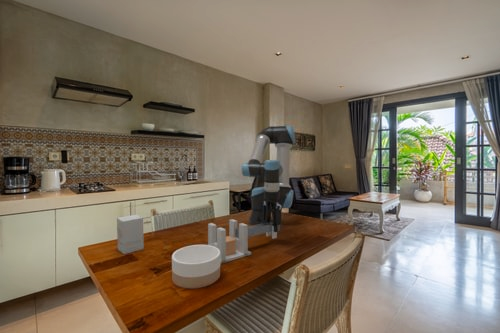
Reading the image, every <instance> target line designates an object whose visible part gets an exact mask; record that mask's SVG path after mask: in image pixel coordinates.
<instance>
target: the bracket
mask: <svg viewBox="0 0 500 333" xmlns="http://www.w3.org/2000/svg"><path fill="white" fill-rule="evenodd" d="M228 223H229V225H228V227H229V232H228V233H229V235H228V236H230V237H232V238H234V239H236V253H235V254H231V255H228V256H226V237H227V230H226V229H225V228H223V227H217V224H215V223H213V222H210V223H207V245H210V246H214V247H216V248H218V249H219V250H220V265H222V264H224V263H228V262H231V261H234V260H237V259H241V258H244V257H247V256H251V255H252V252H251V251H250V250H248V249H249V248H248V245H249V243H248V238H249V237H248V226H249V225H248V224H245V223H244V222H240V223H238V220H236V219H233V218H232V219H229V220H228ZM238 228H239V238H237V237H236V229H238Z"/></svg>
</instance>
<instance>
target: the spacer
mask: <svg viewBox="0 0 500 333" xmlns="http://www.w3.org/2000/svg"><path fill="white" fill-rule="evenodd" d="M235 253H236V239H234V238H232V237H230V236H229V235H226V256H228V255H231V254H235Z"/></svg>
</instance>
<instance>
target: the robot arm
mask: <svg viewBox="0 0 500 333" xmlns="http://www.w3.org/2000/svg"><path fill="white" fill-rule="evenodd" d="M295 143H296V138H295V130H294V127H293V126H291V125H275V126H274V125H271V126H267V127H265V128H263V129H262V130H260V131H259V133H258V134H257V135H256V138H255V144H254V147H253V150H252V152H251V155H250V157H249V160H248V162H245V163H242V166H241V174H242V176H244V177H247V178H248V177H249V178H264V186H261V187H260V186H259V187H255V188H253V189H252V190H251V212H250V215H249V219H248V223H249V224H250V225H251V226H253V225H257V224H262V223H267V222H271V220H273V225H272V231H271V232H267V233H265V237H270V236H271V239H273V240H274V239H277V238H278V232H279V231H278V225H280V226H281V224H282V212H283V211H282V210H283V209H290V208H291V207H292V206H293V205H292V204H293V200H294V190H293V189H292V186H291V185H290V169H291V168H290V164H291V163H290V162H291V158H290V157H291V148H293V145H294V144H295ZM270 144H273V145H274V146H275V148H276V159H267V160H265V161H264V158H265V156H266V151H267V148H268V146H269V145H270ZM263 161H264V163H263Z"/></svg>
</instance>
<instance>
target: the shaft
mask: <svg viewBox="0 0 500 333" xmlns="http://www.w3.org/2000/svg"><path fill="white" fill-rule="evenodd" d="M272 225H273V219H272V220H271V222H267V223H262V224H257V225H250V226H249V225H248V238H249V237H254V236H259V235H262V234H266V233H267V232H271V233H272ZM280 231H281V225H278V231H277V232H280ZM236 237H237V238H239V227H237V229H236Z"/></svg>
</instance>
